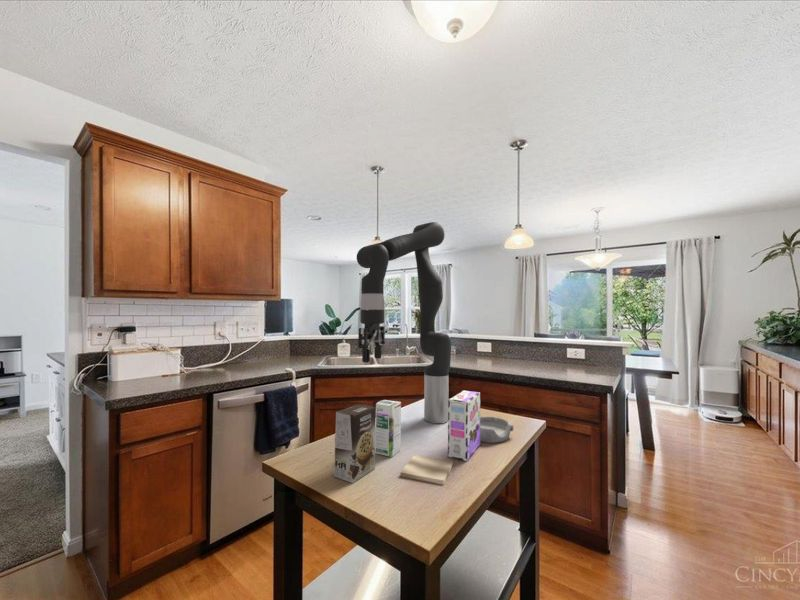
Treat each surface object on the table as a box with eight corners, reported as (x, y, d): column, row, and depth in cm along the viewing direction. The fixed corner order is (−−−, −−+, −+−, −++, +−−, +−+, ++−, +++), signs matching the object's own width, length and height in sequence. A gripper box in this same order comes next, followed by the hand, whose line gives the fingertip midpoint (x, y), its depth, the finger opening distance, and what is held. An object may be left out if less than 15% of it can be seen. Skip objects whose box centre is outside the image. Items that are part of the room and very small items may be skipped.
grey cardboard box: (353, 484, 79) (354, 415, 80) (333, 476, 83) (334, 411, 83) (376, 469, 87) (376, 406, 88) (356, 463, 90) (357, 403, 91)
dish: (516, 436, 112) (516, 420, 112) (499, 448, 101) (499, 432, 101) (477, 426, 121) (477, 412, 121) (457, 437, 111) (457, 421, 111)
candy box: (467, 462, 91) (467, 401, 92) (447, 457, 94) (447, 398, 95) (481, 445, 103) (481, 391, 104) (462, 441, 106) (462, 389, 107)
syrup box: (374, 453, 96) (374, 403, 97) (384, 446, 102) (385, 398, 102) (391, 457, 94) (392, 405, 94) (401, 450, 99) (401, 401, 100)
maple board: (414, 458, 93) (414, 454, 93) (453, 465, 90) (453, 461, 90) (400, 476, 83) (400, 472, 83) (443, 484, 79) (443, 480, 79)
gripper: (371, 308, 113) (371, 356, 112) (350, 308, 99) (350, 362, 99) (391, 308, 110) (391, 357, 110) (373, 308, 97) (373, 364, 96)
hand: (372, 360), depth 104 cm, fingers open, 8 cm apart
